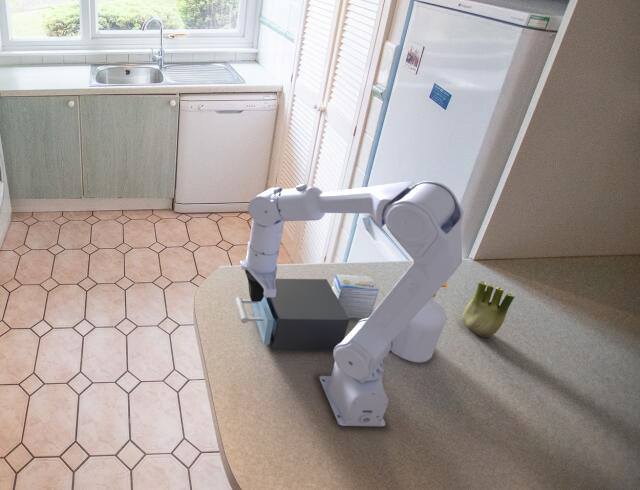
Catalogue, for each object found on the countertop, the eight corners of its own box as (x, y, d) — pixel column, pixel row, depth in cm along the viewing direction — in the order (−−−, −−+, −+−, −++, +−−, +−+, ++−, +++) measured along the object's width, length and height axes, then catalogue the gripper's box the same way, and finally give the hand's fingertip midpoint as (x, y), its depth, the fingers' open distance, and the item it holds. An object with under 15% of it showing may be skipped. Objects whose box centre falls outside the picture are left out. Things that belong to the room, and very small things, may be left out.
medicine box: (363, 305, 103) (371, 275, 99) (370, 320, 99) (380, 290, 95) (327, 303, 104) (334, 273, 100) (333, 317, 100) (341, 287, 96)
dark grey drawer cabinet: (273, 350, 92) (279, 318, 88) (259, 308, 102) (264, 278, 99) (340, 351, 92) (349, 319, 88) (319, 308, 102) (326, 279, 98)
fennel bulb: (498, 338, 95) (519, 294, 89) (480, 343, 93) (500, 299, 88) (472, 318, 100) (490, 275, 95) (454, 323, 98) (472, 279, 93)
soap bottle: (439, 367, 88) (481, 267, 78) (389, 359, 90) (423, 260, 79) (422, 331, 96) (458, 236, 86) (376, 324, 98) (405, 231, 87)
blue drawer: (241, 344, 92) (245, 319, 89) (231, 306, 101) (234, 283, 98) (325, 345, 92) (331, 320, 89) (307, 307, 101) (312, 284, 98)
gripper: (236, 224, 94) (229, 275, 100) (252, 270, 81) (243, 326, 87) (269, 224, 94) (261, 275, 100) (291, 270, 81) (280, 326, 87)
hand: (255, 299), depth 94 cm, fingers closed
